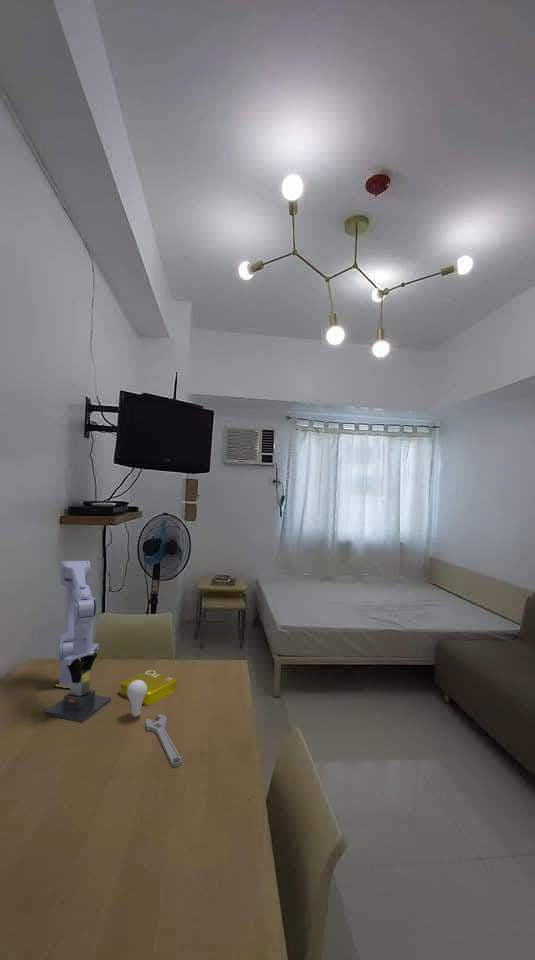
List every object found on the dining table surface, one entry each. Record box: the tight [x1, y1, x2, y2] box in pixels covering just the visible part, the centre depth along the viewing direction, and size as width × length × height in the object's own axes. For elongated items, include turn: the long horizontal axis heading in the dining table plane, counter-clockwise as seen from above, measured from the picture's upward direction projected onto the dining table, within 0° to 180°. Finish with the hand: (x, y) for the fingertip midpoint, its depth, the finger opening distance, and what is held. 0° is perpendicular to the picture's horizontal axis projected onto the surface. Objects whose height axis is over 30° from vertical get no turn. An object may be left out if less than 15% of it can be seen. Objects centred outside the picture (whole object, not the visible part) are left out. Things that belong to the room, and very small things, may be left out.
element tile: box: [119, 669, 178, 706], centre depth 146 cm, size 15×15×5 cm
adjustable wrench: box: [145, 713, 183, 768], centre depth 117 cm, size 25×6×2 cm, turn 25°
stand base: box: [43, 688, 112, 723], centre depth 134 cm, size 14×14×5 cm
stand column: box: [69, 669, 91, 698], centre depth 134 cm, size 4×4×8 cm
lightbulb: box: [127, 680, 147, 717], centre depth 130 cm, size 6×6×11 cm
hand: (80, 679), depth 134 cm, fingers closed on stand column, 4 cm apart
